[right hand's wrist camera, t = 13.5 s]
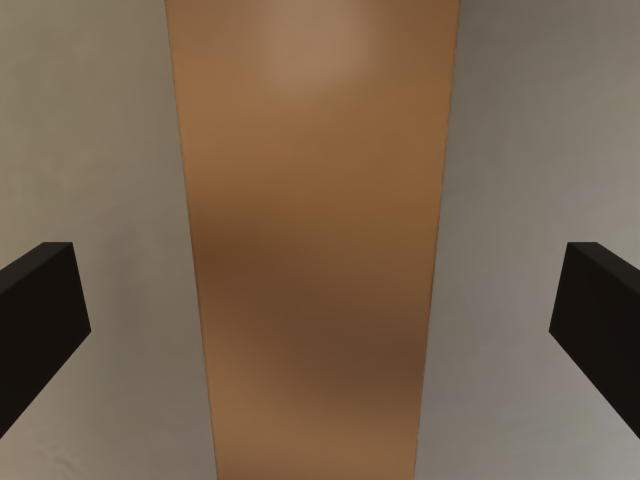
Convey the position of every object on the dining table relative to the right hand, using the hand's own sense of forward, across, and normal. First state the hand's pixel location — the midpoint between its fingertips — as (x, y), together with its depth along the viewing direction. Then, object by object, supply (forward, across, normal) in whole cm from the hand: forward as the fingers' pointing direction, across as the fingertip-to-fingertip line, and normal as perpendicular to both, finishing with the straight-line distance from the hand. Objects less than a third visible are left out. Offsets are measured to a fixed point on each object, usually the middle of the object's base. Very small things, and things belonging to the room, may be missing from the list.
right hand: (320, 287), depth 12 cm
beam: (+4, 0, -22) cm, 22 cm away
